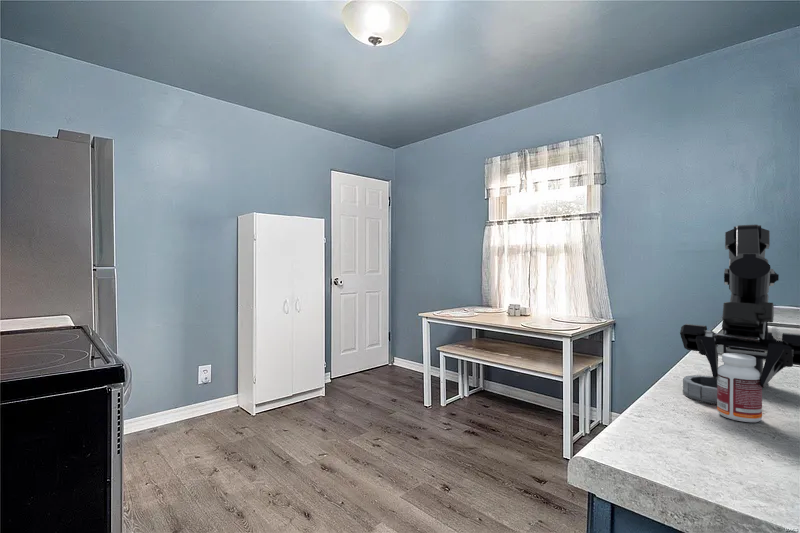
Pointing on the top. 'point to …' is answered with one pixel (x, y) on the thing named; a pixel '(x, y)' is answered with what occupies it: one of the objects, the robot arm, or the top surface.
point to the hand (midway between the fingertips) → (737, 381)
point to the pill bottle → (739, 388)
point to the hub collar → (701, 388)
